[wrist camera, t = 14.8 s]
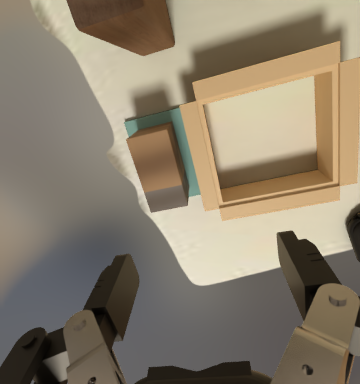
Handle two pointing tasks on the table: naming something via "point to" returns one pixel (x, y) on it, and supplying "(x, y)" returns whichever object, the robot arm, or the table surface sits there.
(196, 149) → the carton
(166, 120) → the mat
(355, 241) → the carrying case or bag
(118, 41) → the wooden block
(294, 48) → the table surface
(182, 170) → the box
